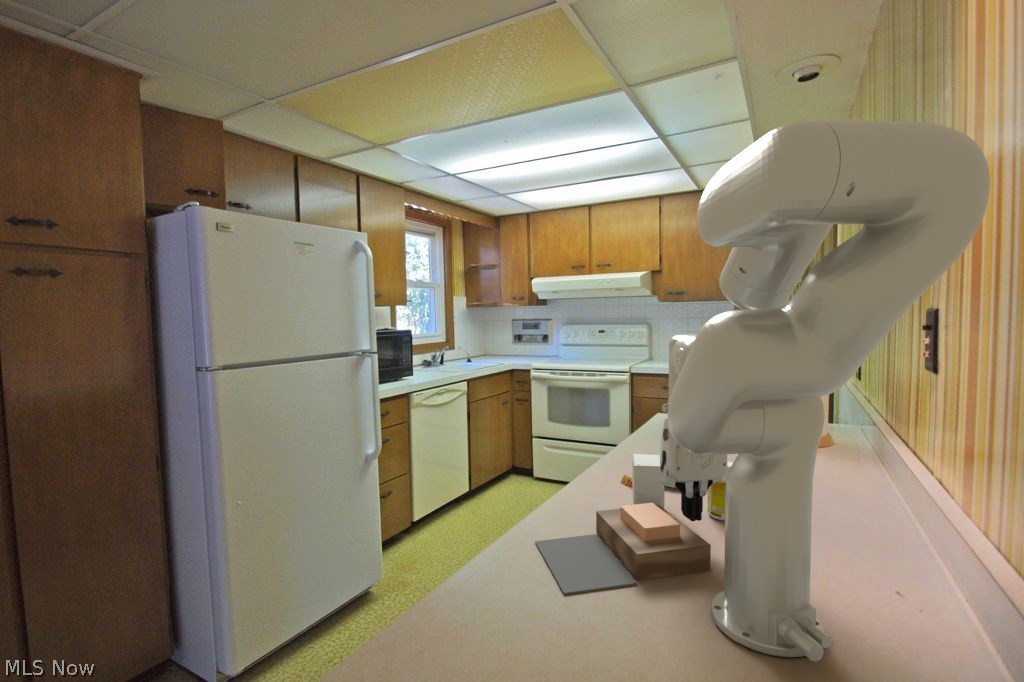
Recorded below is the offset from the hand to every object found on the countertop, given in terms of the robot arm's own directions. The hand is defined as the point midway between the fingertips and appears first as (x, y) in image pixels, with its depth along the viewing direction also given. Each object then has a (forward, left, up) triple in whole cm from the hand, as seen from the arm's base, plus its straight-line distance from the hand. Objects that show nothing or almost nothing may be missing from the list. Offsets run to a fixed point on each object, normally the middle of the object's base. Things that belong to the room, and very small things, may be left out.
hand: (691, 517), depth 83 cm
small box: (+14, +1, -5) cm, 15 cm away
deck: (0, +8, -5) cm, 9 cm away
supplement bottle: (+9, -12, -5) cm, 16 cm away
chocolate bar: (+25, -3, -5) cm, 26 cm away
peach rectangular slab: (0, +8, -1) cm, 8 cm away
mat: (-1, +20, -5) cm, 20 cm away
